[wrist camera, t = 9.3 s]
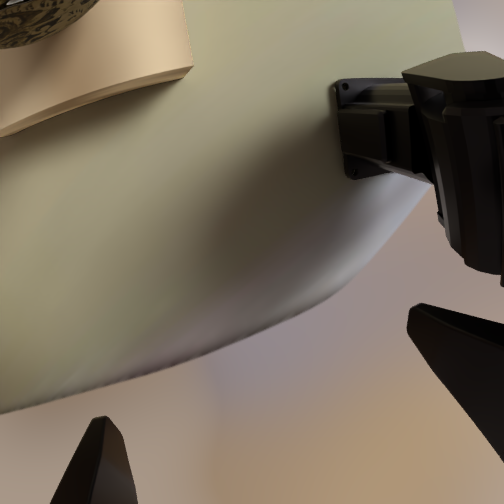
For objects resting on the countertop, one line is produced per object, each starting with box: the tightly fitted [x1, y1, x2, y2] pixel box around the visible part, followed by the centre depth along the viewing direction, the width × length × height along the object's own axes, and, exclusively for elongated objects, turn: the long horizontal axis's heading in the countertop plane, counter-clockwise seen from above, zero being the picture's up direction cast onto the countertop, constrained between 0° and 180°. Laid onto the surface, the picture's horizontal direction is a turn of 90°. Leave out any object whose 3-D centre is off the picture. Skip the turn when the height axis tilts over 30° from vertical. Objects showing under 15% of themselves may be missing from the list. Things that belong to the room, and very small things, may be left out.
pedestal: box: [0, 0, 194, 137], centre depth 10 cm, size 10×10×4 cm
